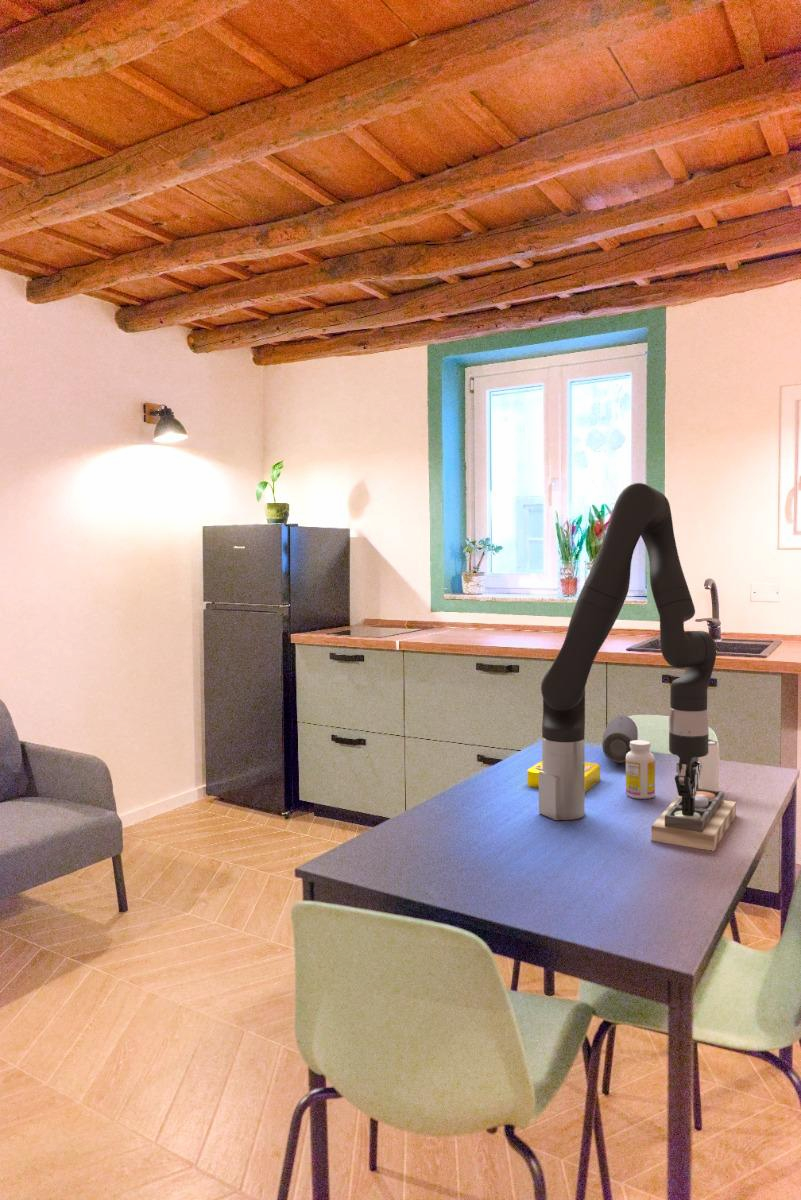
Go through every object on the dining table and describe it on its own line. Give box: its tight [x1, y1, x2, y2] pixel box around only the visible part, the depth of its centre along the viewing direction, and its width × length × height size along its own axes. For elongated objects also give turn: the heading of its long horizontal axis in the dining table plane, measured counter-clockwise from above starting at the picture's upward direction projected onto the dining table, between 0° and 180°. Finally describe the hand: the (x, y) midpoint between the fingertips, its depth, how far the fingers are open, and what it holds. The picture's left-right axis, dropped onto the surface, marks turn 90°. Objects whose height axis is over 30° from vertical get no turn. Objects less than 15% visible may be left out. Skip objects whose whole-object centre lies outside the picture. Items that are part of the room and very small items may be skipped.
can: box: [698, 738, 720, 791], centre depth 198 cm, size 6×6×12 cm
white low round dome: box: [695, 795, 708, 809], centre depth 173 cm, size 5×5×2 cm
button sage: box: [674, 811, 701, 820], centre depth 166 cm, size 5×5×2 cm
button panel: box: [650, 788, 737, 852], centre depth 173 cm, size 24×12×5 cm, turn 148°
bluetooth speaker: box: [601, 715, 639, 764], centre depth 230 cm, size 23×9×10 cm, turn 162°
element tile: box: [526, 760, 601, 793], centre depth 207 cm, size 15×15×5 cm
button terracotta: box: [696, 791, 715, 799], centre depth 179 cm, size 5×5×2 cm
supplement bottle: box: [625, 739, 656, 800], centre depth 195 cm, size 7×7×13 cm
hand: (688, 814), depth 166 cm, fingers closed
